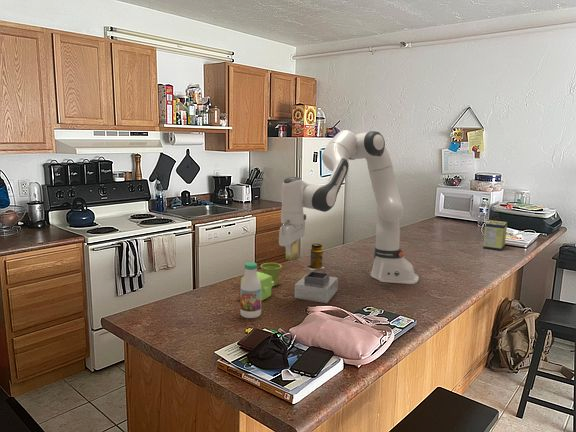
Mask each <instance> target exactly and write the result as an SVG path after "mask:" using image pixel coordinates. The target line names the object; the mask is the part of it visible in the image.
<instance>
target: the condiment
mask: <svg viewBox="0 0 576 432" xmlns="http://www.w3.org/2000/svg"><path fill="white" fill-rule="evenodd" d="M323 254H324V251H323V245H322V244H321V243H313V244H311V249H310V264H309V265H304V266H303V267H304V268H306V269H309V270H310V271H315V270H321V269H325V268H326V266H325V267H324V266H323Z"/></svg>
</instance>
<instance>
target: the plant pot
mask: <svg viewBox="0 0 576 432" xmlns="http://www.w3.org/2000/svg"><path fill="white" fill-rule="evenodd" d="M260 268H261V270H262V273H265V274H268V275H270V276H272V281H274V286H273V287H275V286H277V285H278V281H279V276H280V271H281V268H282V264H280V263H277V262H265V263H261V264H260Z"/></svg>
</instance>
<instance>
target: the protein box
mask: <svg viewBox="0 0 576 432" xmlns="http://www.w3.org/2000/svg"><path fill="white" fill-rule="evenodd" d="M507 228H508V221H502V220H501V221H500V220H492V219H489V220H488V221H487V222H486V223H485V226H484V237H483V245H482V248H483V249H485V250H493V251H498V252H499V251H500V252H502V250H503V249H504V247H505V246H506V238H507Z"/></svg>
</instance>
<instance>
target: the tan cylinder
mask: <svg viewBox="0 0 576 432" xmlns="http://www.w3.org/2000/svg"><path fill="white" fill-rule="evenodd" d="M291 249H292V253H291V254H290V255H289V254H287V253H286V252H285V259H286V260H288V261H296V260H298V259H299V242H298V241H295V242H293V243H292V244H291Z"/></svg>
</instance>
